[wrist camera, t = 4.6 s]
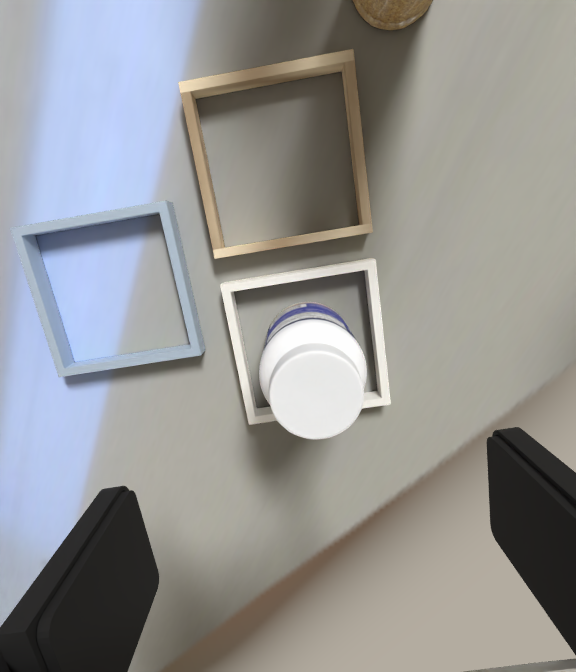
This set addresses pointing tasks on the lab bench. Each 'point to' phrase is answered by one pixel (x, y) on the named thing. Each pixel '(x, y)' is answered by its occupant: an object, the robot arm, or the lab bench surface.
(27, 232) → the tray slate
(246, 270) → the lab bench surface
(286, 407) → the pill bottle
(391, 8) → the sprinkles bottle
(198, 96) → the tray birch
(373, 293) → the tray white
